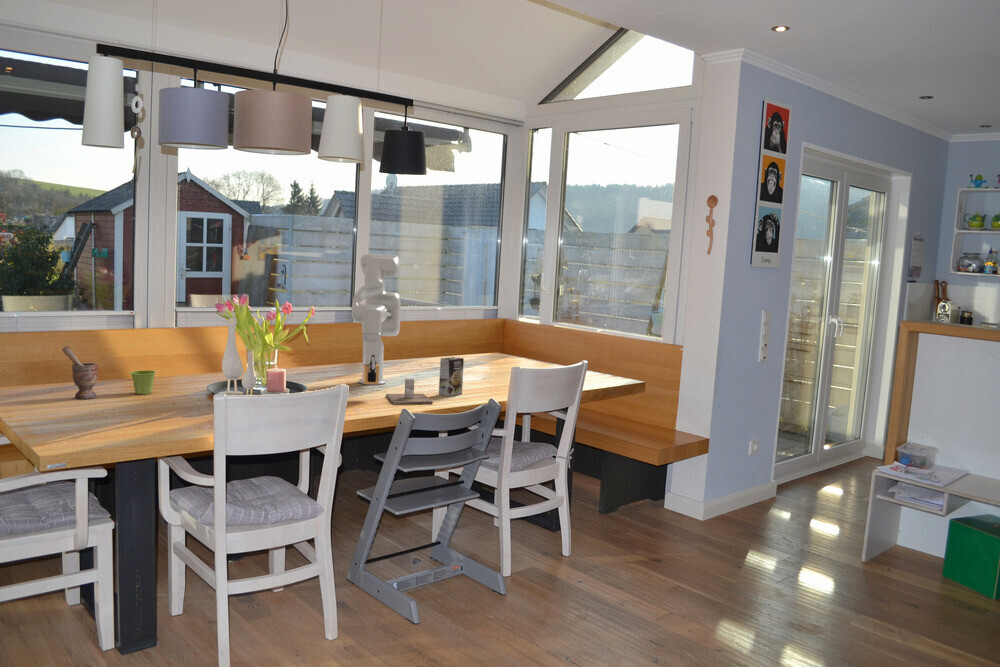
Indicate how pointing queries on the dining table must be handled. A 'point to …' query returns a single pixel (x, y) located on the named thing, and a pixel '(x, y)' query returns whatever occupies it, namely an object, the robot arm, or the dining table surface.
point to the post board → (408, 401)
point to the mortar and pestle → (82, 375)
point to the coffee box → (451, 376)
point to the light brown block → (365, 374)
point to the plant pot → (143, 381)
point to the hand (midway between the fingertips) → (370, 379)
